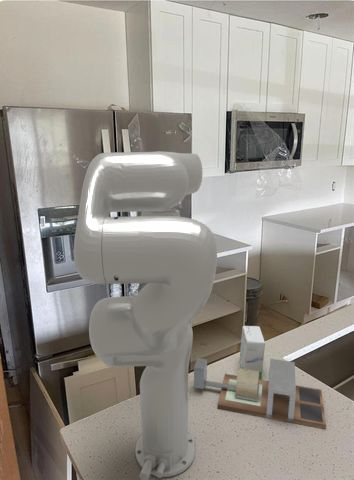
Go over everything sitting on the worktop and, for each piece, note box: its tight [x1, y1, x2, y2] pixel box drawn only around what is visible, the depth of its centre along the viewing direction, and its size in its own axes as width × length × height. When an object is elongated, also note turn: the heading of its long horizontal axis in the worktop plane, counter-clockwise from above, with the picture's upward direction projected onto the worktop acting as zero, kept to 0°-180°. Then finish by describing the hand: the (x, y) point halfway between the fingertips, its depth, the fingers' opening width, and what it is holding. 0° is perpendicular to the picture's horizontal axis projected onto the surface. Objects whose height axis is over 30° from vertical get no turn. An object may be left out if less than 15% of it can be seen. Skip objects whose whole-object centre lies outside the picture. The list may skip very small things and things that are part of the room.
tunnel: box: [266, 358, 297, 424], centre depth 90 cm, size 12×6×8 cm, turn 164°
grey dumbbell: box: [193, 357, 259, 402], centre depth 93 cm, size 6×16×6 cm, turn 74°
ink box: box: [239, 325, 266, 380], centre depth 101 cm, size 9×5×12 cm, turn 179°
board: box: [217, 373, 327, 430], centre depth 91 cm, size 12×24×1 cm, turn 74°
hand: (161, 272), depth 93 cm, fingers open, 9 cm apart
